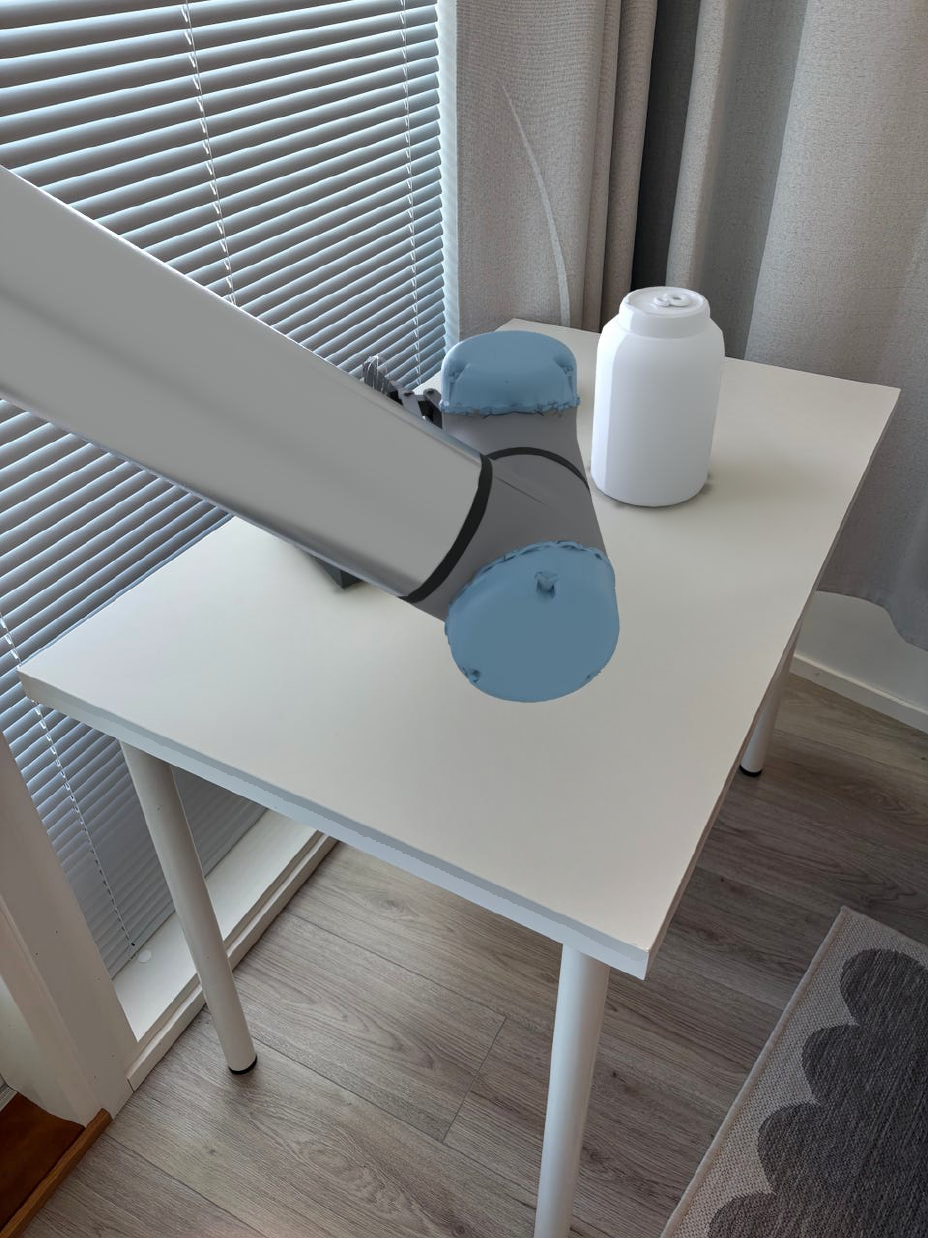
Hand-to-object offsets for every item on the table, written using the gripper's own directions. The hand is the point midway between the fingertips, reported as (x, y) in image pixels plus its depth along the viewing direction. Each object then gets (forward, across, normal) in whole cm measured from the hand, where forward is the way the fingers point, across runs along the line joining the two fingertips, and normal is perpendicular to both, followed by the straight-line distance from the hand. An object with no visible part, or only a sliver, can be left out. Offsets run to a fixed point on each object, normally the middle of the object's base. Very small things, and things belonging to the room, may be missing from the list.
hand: (337, 384), depth 84 cm
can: (-2, +33, -18) cm, 38 cm away
